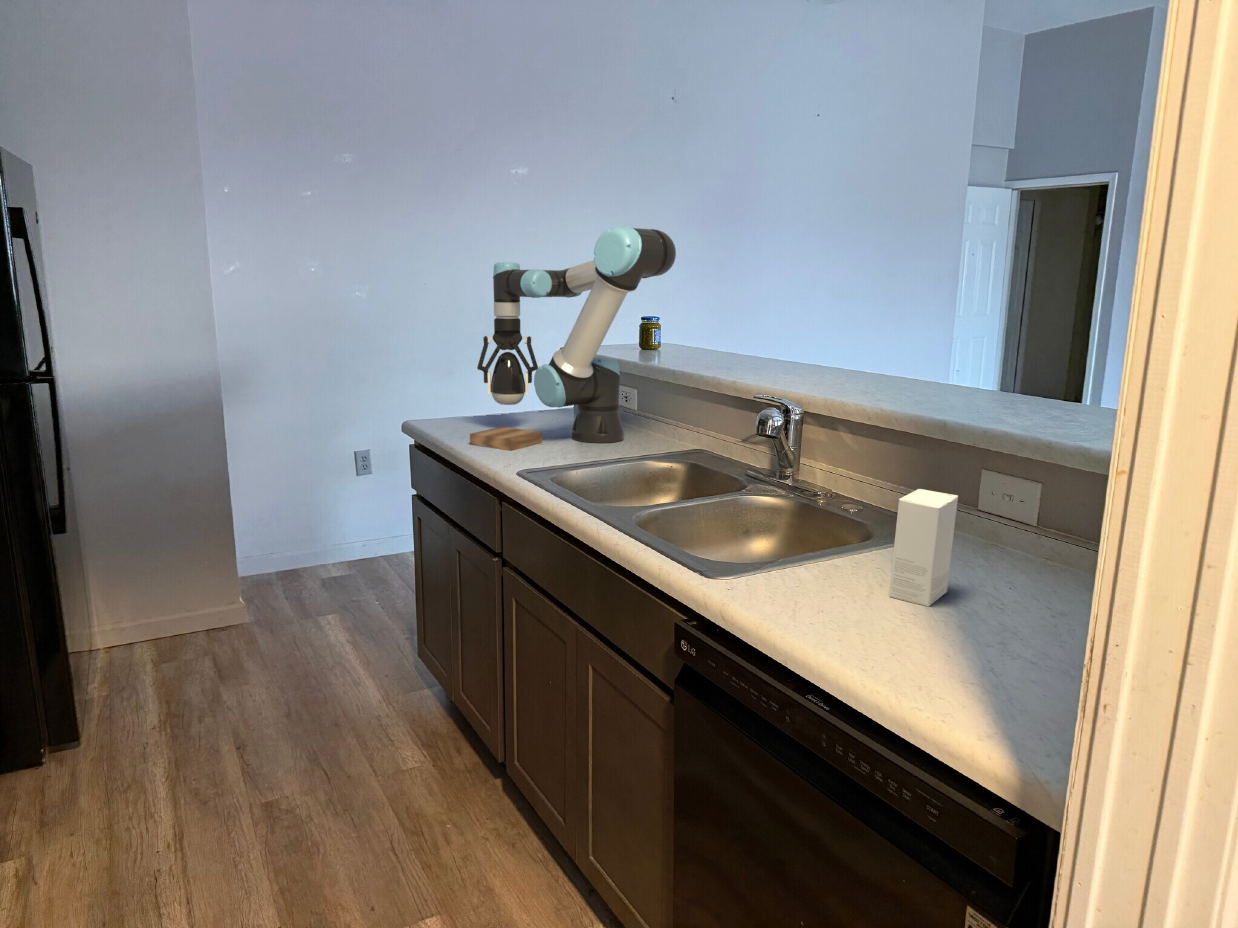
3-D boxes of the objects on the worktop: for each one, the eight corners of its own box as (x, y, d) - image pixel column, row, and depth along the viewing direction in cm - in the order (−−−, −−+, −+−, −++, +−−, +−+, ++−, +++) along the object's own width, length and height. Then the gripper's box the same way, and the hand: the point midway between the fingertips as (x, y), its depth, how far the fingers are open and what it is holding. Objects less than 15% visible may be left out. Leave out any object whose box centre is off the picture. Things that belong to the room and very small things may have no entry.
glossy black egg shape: (484, 404, 258) (483, 352, 255) (500, 400, 268) (499, 349, 265) (516, 407, 255) (515, 353, 252) (531, 402, 264) (531, 351, 261)
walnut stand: (541, 442, 248) (542, 432, 247) (511, 450, 236) (511, 439, 235) (501, 437, 254) (501, 426, 254) (470, 444, 243) (470, 433, 242)
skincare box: (908, 583, 140) (917, 487, 137) (950, 593, 136) (961, 495, 133) (887, 597, 134) (896, 497, 131) (930, 608, 130) (941, 505, 127)
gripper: (546, 317, 261) (546, 392, 265) (468, 316, 259) (469, 392, 263) (547, 318, 254) (547, 395, 258) (466, 317, 251) (468, 395, 256)
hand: (508, 394), depth 261 cm, fingers closed on glossy black egg shape, 10 cm apart
